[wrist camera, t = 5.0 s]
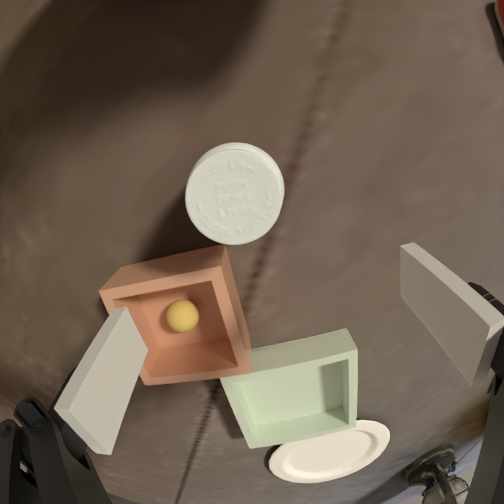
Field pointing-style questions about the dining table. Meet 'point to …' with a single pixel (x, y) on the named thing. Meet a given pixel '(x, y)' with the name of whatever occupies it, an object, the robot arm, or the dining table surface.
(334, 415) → the green tray
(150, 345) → the orange open box
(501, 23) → the toy boat
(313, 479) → the plate
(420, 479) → the lantern
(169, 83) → the dining table surface
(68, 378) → the robot arm
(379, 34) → the dining table surface
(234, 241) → the pill bottle
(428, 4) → the dining table surface
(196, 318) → the yellow ball
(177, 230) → the dining table surface
